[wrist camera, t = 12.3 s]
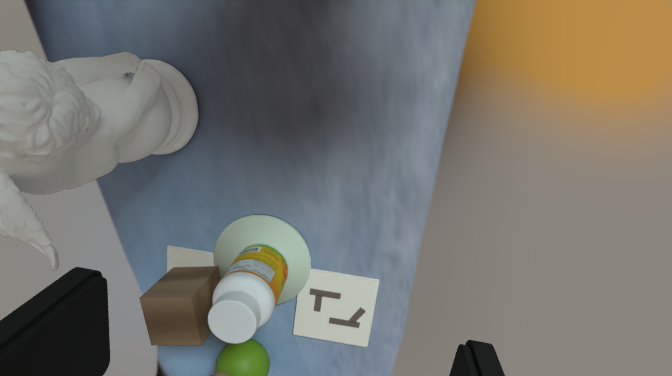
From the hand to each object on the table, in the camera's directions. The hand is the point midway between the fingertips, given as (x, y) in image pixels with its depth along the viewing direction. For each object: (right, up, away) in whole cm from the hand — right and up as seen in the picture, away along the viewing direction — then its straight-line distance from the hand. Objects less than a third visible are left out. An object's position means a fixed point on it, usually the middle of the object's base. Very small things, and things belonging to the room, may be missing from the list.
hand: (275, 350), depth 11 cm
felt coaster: (-6, -3, +31) cm, 32 cm away
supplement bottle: (-6, -4, +31) cm, 32 cm away
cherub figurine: (-15, +10, +29) cm, 34 cm away
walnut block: (-13, -6, +33) cm, 36 cm away
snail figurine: (-8, -13, +35) cm, 38 cm away
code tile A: (+1, -8, +32) cm, 33 cm away
